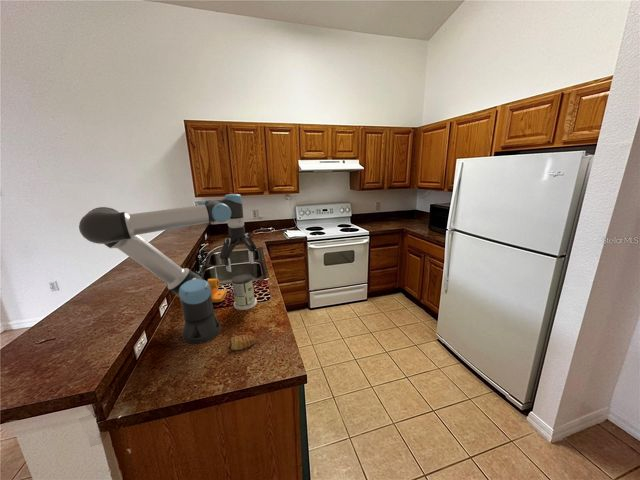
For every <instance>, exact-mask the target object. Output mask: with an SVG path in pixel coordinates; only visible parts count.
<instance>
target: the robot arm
mask: <svg viewBox="0 0 640 480" xmlns="http://www.w3.org/2000/svg"><path fill="white" fill-rule="evenodd" d="M242 199H243V198H242V195H241V194H240V193H239V194H238V193H231V194H225V195H224V199H208V200H201V201H198V203H197V205H192V206H191V205H190V206H185V207H184V206H183V207H175V208H168V209H161V210H151V211H145V212H137V213H128V212H126V211H122V212H119V210H116V209H114V208H111V207H108V206H107V207H106V206H99V207H96V208H93V209H91V210H89V211H88V212H87V213H86V214H85V215H83V217H82V218H81V219H80V220H79V225H78V229H79V232H80V234H81V236H82V237H83V238H84V239H86V241H89V242H91V243H93V244H98V245H99V244H100V245H104V246H106V247H107V248H109V249H118V250H119V251H121V252H122V253H124V254H125V255H126V256H127V257H129V258H130V259H132V260H134V261H135V262H136V263H138V264H139V265H141V266H142V267H143V268H145V269H146V270H147V271H148V272H151V273H152V274H153V275H154V276H156V277H157V278H158V279H160V280H162V281H163V282H165V284H167V289H168V290H169V291H171V292H172V293H174V294H175V295H176V296H178V298H179V301H180V304H181V309H182V314H183V319H184V325H183V327H182V328H183V329H182V339H183V341H184V342H185V343H187V344H189V345H198V344H203V343H206V342H209V341H212V340H213V339H214V338H215V337H217V336H218V335H219V334H220V332H221V329H222V328H221V323H220V322H219V320H218V318H217V315H216V314H215V311H214V306H213V302H212V297H211V288H210V285H209V283H208V282H207V281H208V280H205V279H204V278H202V277H201V276H200V275H199V274H197V273H195V272H194V271H192V270H191V269H189V268H187V267H183V268H182V267H181V266H180V265H178V264H177V263H176V262H174V261H173V260H172V259H171V258H169V257H168V256H167V255H166V254H164V253H163V252H162V251H160V250H159V249H157V247H155V246H154V245H152V244H151V243H150V242H148V241H147V240H146V239H144V238H143V237H142V236H141V235H142V234H143V235H144V234H150V233H155V232H161V231H168V230H173V229H179V228H185V227H193V226H196V225H197V226H198V225H203V224H209V223H225V222H227V226H228V235H229V238H226V237H225V238H224V239H223V244H222V245H223V246H222V248H221V252H220V255H219V259H220V260H223V262H224V266H225V268H226V272H229V273H232V267H231V266H232V265H231V264H232V263H231V259H230V256H231V255H232V253H233V251H234V248H236V246H240V245H243V246H245V248H247V249H248V251H247V252H248V263H249V264H252V265H254V264H255V261H254V257H255V253H254V252H256V250H257V245H256V244H255V243H254V241H253V239H252V237H251V233H248V232H246V228H245V218H244V211H243V210H244V209H243V206H244V205H243V200H242Z"/></svg>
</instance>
